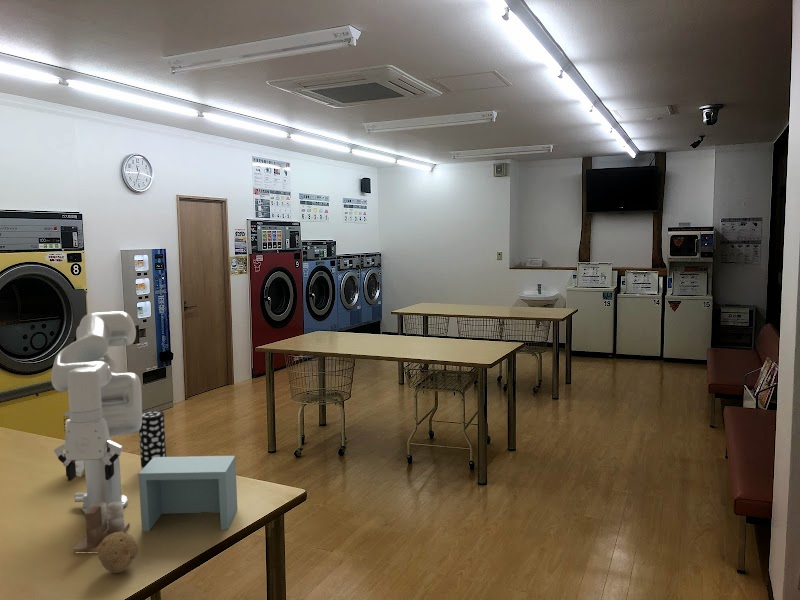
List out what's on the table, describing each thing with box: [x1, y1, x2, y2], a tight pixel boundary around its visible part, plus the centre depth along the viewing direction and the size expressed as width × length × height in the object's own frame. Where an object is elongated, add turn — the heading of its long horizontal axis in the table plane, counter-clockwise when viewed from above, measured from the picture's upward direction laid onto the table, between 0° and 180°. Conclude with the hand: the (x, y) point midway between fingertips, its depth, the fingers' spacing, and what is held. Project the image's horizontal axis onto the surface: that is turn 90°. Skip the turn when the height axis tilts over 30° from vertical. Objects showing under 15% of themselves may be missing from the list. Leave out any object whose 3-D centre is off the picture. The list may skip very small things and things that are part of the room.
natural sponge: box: [97, 532, 139, 574], centre depth 156 cm, size 9×9×10 cm
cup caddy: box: [73, 502, 131, 553], centre depth 171 cm, size 9×14×11 cm, turn 2°
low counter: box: [138, 455, 238, 532], centre depth 181 cm, size 24×12×17 cm, turn 92°
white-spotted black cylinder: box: [138, 410, 167, 471], centre depth 218 cm, size 8×8×20 cm
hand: (90, 478), depth 164 cm, fingers open, 9 cm apart
